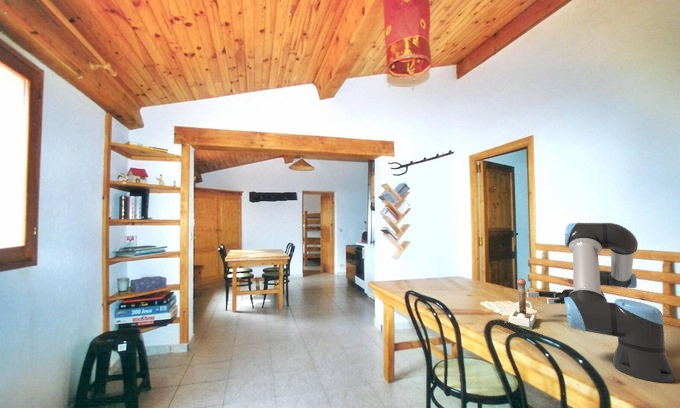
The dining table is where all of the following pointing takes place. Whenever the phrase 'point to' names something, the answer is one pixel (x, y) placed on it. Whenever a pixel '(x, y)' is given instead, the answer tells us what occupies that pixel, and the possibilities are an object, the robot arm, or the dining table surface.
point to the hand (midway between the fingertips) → (537, 297)
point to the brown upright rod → (522, 298)
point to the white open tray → (522, 320)
